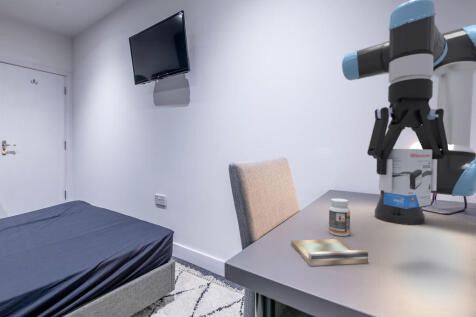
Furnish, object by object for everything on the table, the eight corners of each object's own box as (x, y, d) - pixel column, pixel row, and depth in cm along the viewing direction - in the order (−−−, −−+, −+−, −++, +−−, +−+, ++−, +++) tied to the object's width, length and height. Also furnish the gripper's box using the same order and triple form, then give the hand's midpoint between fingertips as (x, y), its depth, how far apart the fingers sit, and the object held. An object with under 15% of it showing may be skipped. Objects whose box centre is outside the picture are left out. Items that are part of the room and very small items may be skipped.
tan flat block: (338, 242, 65) (338, 233, 65) (368, 263, 53) (368, 251, 52) (291, 244, 63) (291, 234, 63) (310, 266, 51) (310, 254, 51)
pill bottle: (352, 237, 69) (352, 202, 68) (330, 235, 70) (331, 201, 70) (347, 231, 74) (347, 198, 74) (327, 229, 75) (327, 197, 75)
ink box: (406, 209, 47) (407, 148, 47) (382, 204, 52) (383, 148, 52) (432, 205, 51) (433, 148, 50) (408, 201, 55) (409, 148, 55)
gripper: (440, 88, 56) (437, 186, 56) (349, 85, 53) (347, 188, 54) (476, 78, 48) (472, 192, 49) (372, 74, 46) (370, 194, 46)
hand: (407, 190), depth 51 cm, fingers closed on ink box, 9 cm apart
